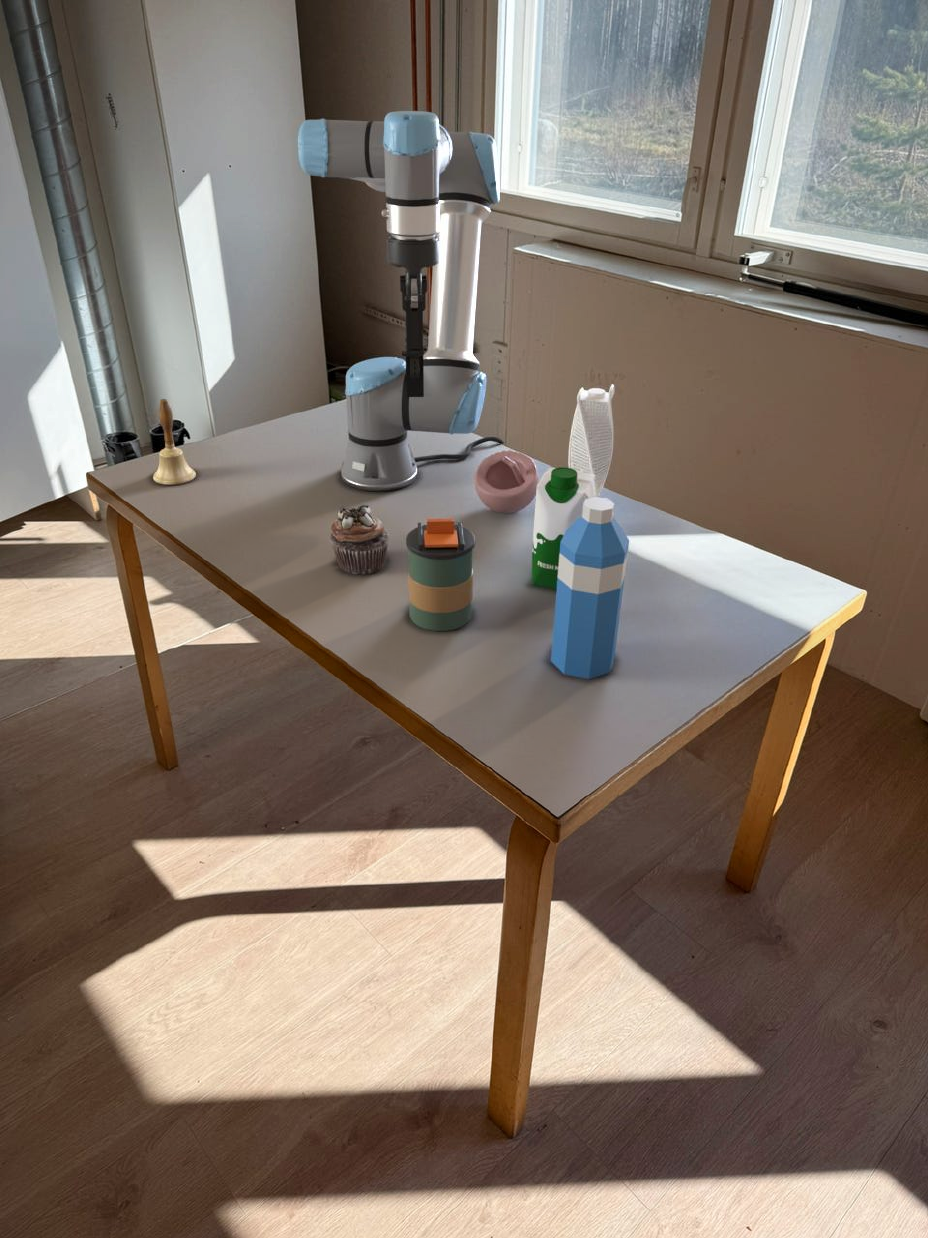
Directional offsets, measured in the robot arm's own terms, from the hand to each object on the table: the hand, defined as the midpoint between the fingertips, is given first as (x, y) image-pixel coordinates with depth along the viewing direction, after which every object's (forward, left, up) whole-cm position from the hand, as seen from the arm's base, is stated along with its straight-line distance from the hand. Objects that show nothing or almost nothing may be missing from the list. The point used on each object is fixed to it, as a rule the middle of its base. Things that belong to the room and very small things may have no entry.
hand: (415, 395), depth 144 cm
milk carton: (-12, +22, -29) cm, 38 cm away
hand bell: (+15, -57, -29) cm, 65 cm away
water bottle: (+3, +40, -29) cm, 49 cm away
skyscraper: (-28, +14, -29) cm, 42 cm away
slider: (+11, +18, -15) cm, 26 cm away
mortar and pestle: (-24, -2, -29) cm, 37 cm away
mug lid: (+10, +17, -16) cm, 25 cm away
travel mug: (+10, +17, -28) cm, 35 cm away
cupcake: (+9, -4, -29) cm, 30 cm away
